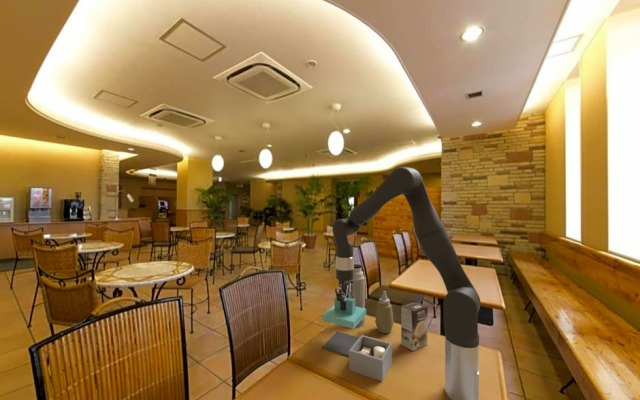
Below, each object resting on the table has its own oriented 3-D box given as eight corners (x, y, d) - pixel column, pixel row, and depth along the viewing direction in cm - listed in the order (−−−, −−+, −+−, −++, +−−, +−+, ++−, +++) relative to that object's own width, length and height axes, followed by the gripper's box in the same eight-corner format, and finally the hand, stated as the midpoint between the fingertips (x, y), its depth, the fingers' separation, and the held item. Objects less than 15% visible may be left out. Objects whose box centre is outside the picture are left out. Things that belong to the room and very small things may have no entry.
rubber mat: (366, 340, 114) (366, 339, 114) (354, 358, 102) (354, 357, 102) (337, 332, 121) (337, 331, 121) (321, 348, 109) (321, 346, 109)
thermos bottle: (352, 327, 125) (352, 268, 125) (345, 320, 133) (345, 263, 132) (367, 325, 128) (367, 266, 127) (360, 317, 135) (360, 262, 135)
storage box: (392, 361, 100) (392, 343, 100) (382, 381, 89) (382, 360, 89) (361, 352, 106) (361, 334, 106) (349, 370, 95) (349, 350, 95)
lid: (366, 314, 114) (366, 295, 113) (353, 328, 102) (353, 307, 102) (337, 307, 120) (337, 290, 120) (322, 320, 109) (322, 300, 108)
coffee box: (413, 351, 106) (413, 311, 106) (400, 344, 111) (400, 305, 111) (428, 344, 111) (428, 306, 111) (415, 337, 116) (415, 300, 116)
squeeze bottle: (394, 336, 118) (394, 295, 117) (375, 334, 119) (375, 294, 119) (393, 327, 126) (393, 288, 125) (375, 325, 127) (375, 287, 127)
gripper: (346, 272, 103) (346, 317, 103) (359, 264, 115) (359, 304, 115) (328, 270, 106) (328, 313, 107) (343, 262, 119) (343, 301, 119)
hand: (344, 308), depth 111 cm, fingers closed on lid, 3 cm apart
